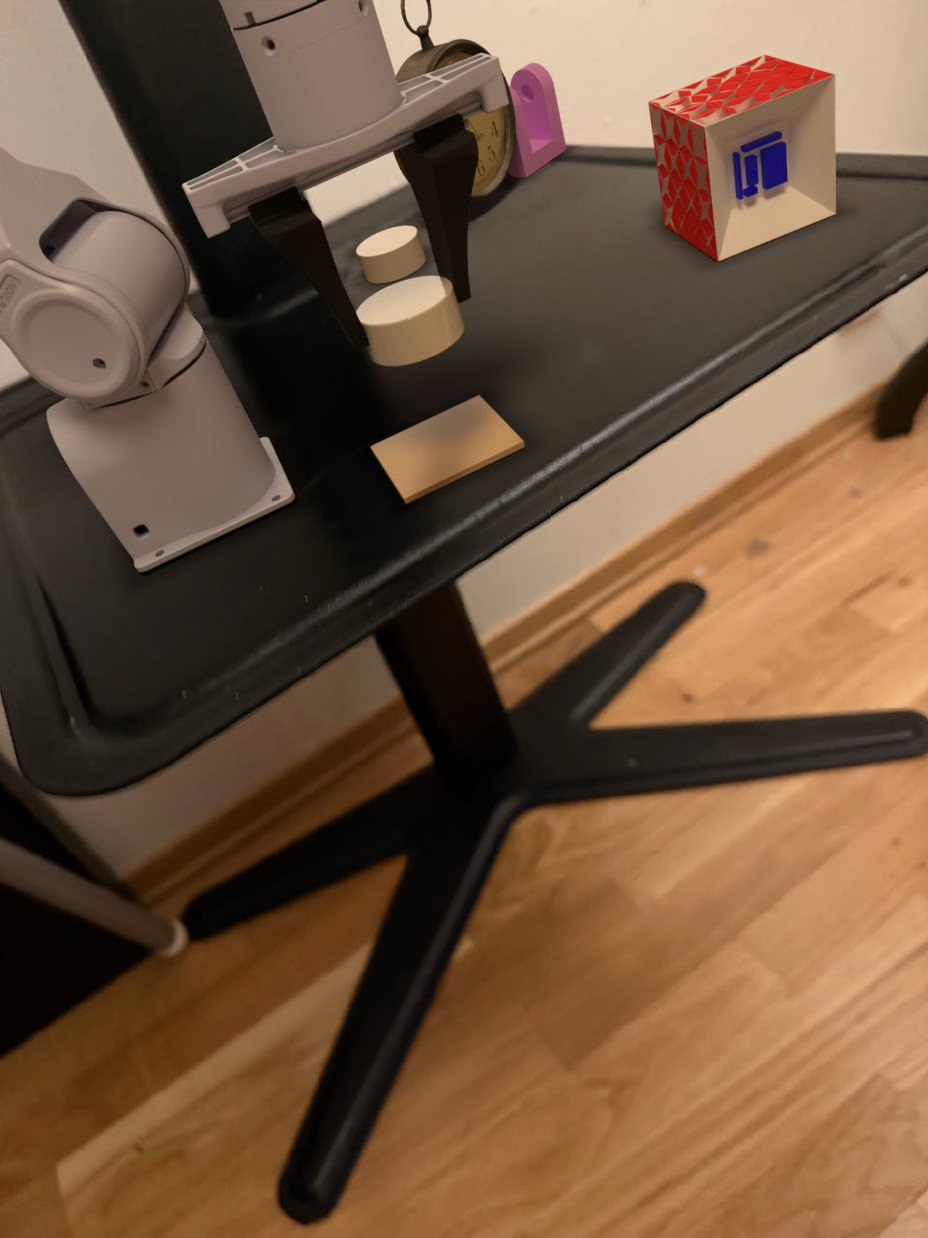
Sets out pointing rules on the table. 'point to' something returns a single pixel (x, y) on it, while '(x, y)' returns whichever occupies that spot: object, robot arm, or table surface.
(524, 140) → the bracket
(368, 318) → the short cream cylinder
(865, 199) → the table surface
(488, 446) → the placemat
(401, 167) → the alarm clock
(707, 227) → the puzzle cube
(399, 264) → the beige round disc
